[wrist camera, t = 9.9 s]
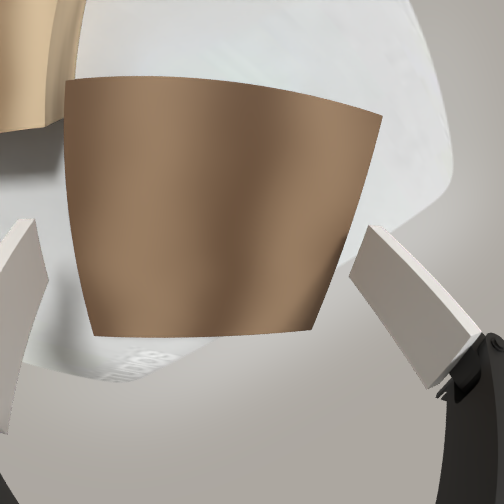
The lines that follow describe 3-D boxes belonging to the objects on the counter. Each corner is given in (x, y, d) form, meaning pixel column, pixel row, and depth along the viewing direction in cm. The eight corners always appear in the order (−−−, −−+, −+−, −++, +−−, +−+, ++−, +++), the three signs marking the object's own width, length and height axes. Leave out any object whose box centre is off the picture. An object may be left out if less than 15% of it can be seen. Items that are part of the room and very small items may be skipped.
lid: (100, 303, 16) (94, 336, 14) (86, 78, 9) (65, 80, 7) (297, 301, 19) (311, 329, 17) (352, 106, 13) (382, 115, 11)
